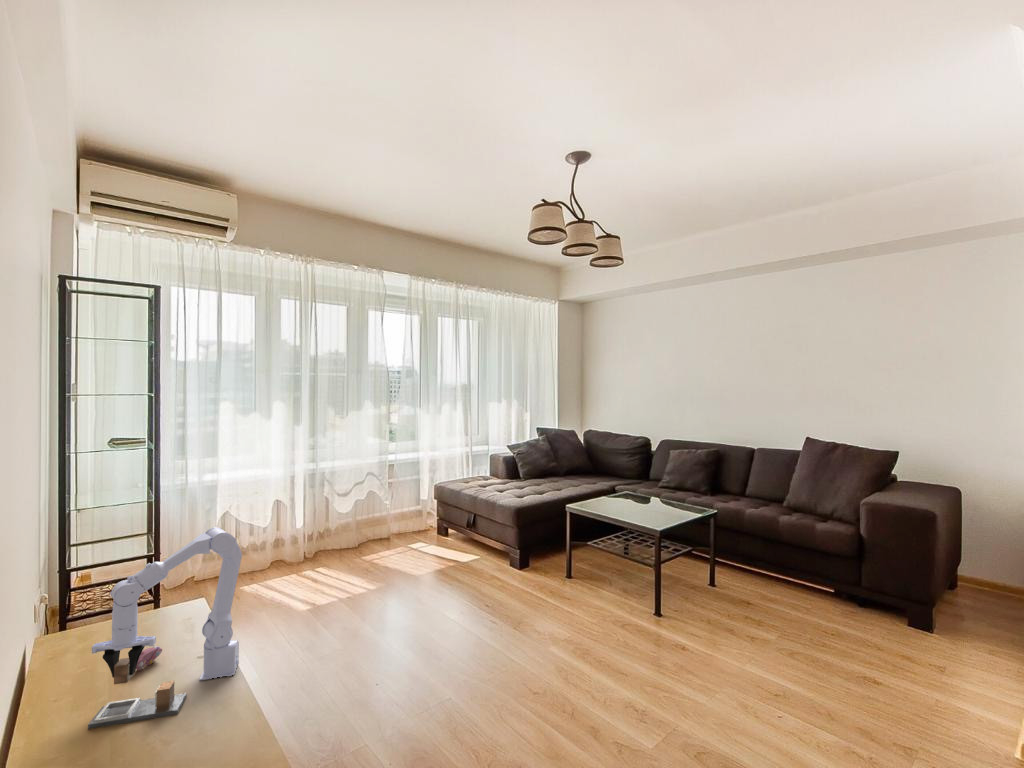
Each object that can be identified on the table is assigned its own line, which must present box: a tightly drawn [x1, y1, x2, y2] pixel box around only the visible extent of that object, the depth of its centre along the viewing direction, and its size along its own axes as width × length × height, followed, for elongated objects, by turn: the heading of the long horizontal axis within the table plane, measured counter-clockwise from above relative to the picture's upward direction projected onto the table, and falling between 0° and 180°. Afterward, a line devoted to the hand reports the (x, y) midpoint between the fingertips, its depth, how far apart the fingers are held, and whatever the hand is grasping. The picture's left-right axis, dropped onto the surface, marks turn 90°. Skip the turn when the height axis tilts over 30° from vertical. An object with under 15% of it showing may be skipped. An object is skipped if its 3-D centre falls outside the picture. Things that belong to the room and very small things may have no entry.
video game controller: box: [136, 645, 163, 672], centre depth 160 cm, size 10×5×7 cm, turn 169°
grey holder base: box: [87, 680, 188, 730], centre depth 137 cm, size 20×8×6 cm, turn 108°
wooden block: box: [113, 657, 134, 686], centre depth 141 cm, size 3×4×5 cm
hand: (124, 674), depth 140 cm, fingers closed on wooden block, 3 cm apart
